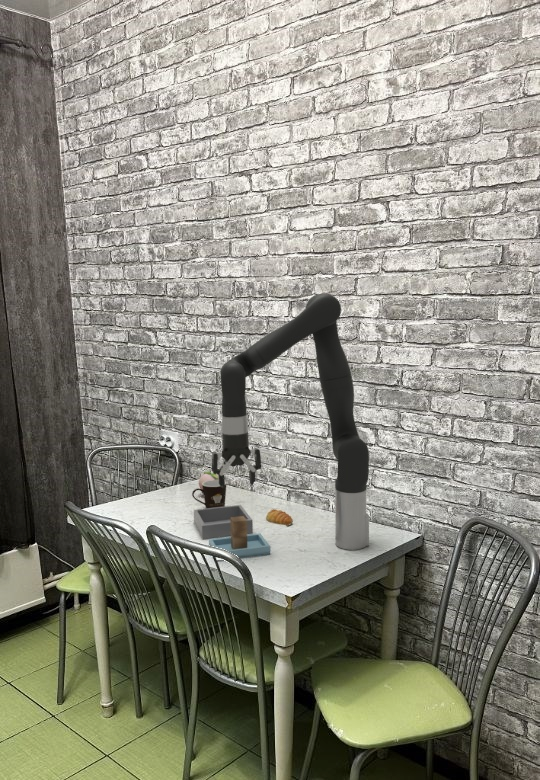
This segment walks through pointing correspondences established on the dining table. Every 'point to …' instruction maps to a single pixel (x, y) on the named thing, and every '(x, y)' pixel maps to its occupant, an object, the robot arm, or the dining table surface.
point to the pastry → (279, 517)
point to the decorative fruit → (207, 478)
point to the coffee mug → (212, 494)
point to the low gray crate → (219, 521)
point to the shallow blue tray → (254, 548)
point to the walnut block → (238, 532)
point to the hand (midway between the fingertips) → (237, 485)
